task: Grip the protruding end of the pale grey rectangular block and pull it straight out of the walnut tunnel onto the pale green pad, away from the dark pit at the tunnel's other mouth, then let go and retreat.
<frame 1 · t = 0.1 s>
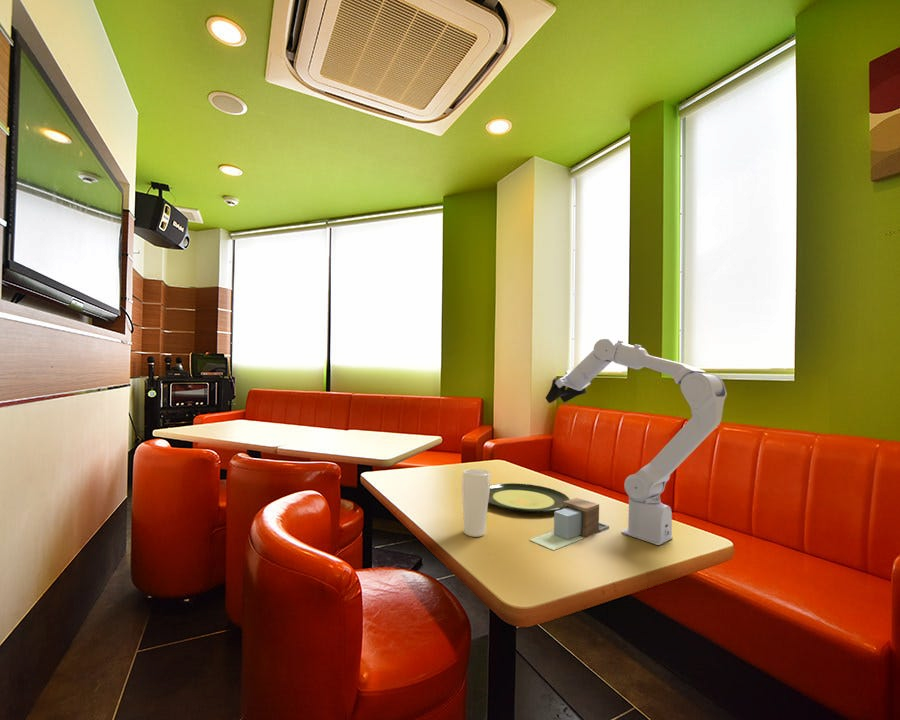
hand: (555, 400, 127), 32 cm above the table, tool tilted 50°, fingers open, 7 cm apart
pale grey rectangular block: (575, 520, 105), point 3 cm above the table, slide at 0.0 cm
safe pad: (556, 539, 100), on the table
drinking glass: (474, 534, 102), on the table
tunnel: (580, 530, 106), on the table
plate: (523, 503, 128), on the table
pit: (592, 526, 110), on the table
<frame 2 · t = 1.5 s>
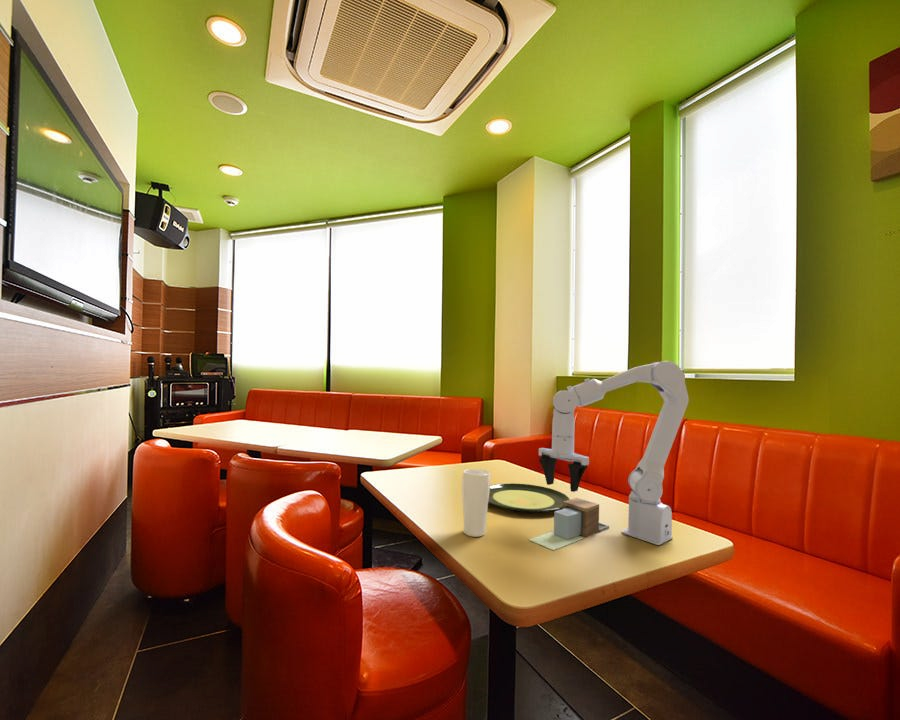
hand: (561, 487, 110), 10 cm above the table, tool pointing down, fingers open, 7 cm apart
nothing on the table moved.
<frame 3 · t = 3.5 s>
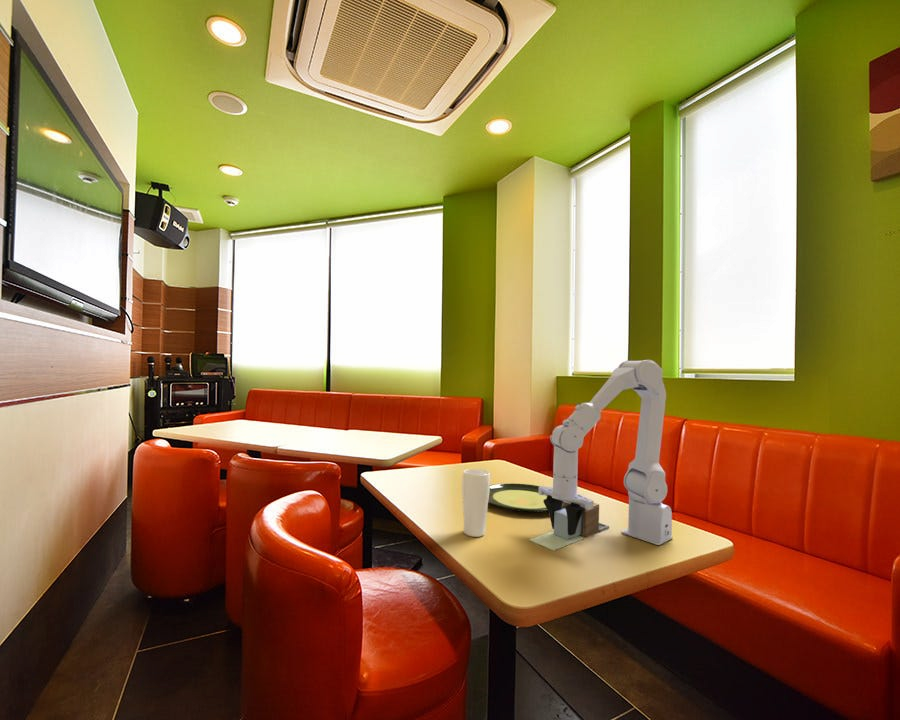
hand: (563, 531, 102), 1 cm above the table, tool pointing down, fingers closed on pale grey rectangular block, 4 cm apart
pale grey rectangular block: (575, 520, 105), point 3 cm above the table, slide at 0.0 cm, touching gripper
everything else where it was.
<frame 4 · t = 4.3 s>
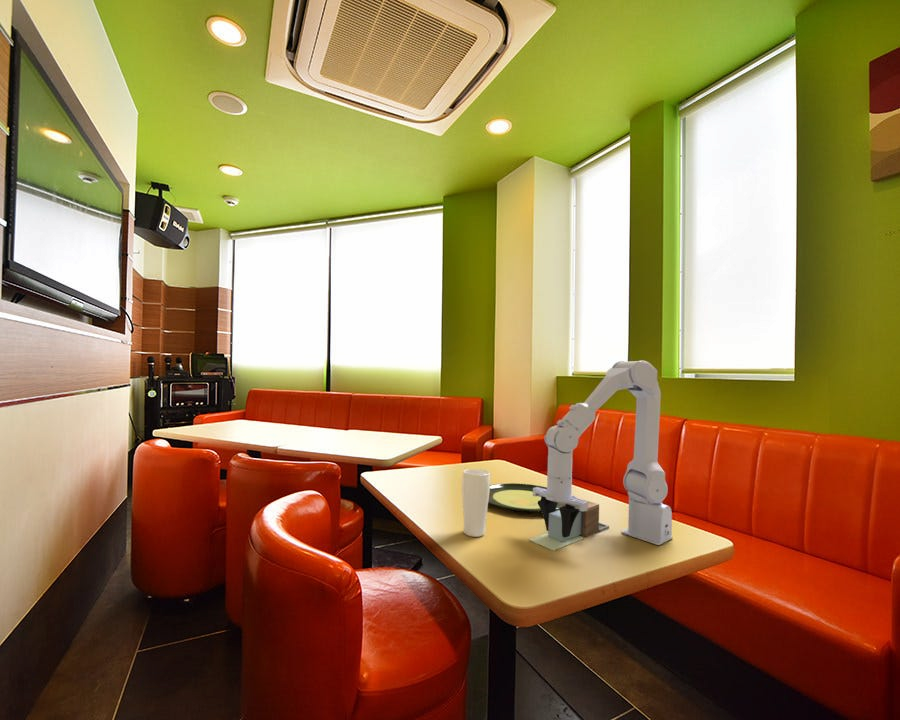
hand: (557, 533, 100), 1 cm above the table, tool pointing down, fingers closed on pale grey rectangular block, 4 cm apart
pale grey rectangular block: (569, 522, 103), point 3 cm above the table, slide at 2.2 cm, touching gripper
everything else where it was.
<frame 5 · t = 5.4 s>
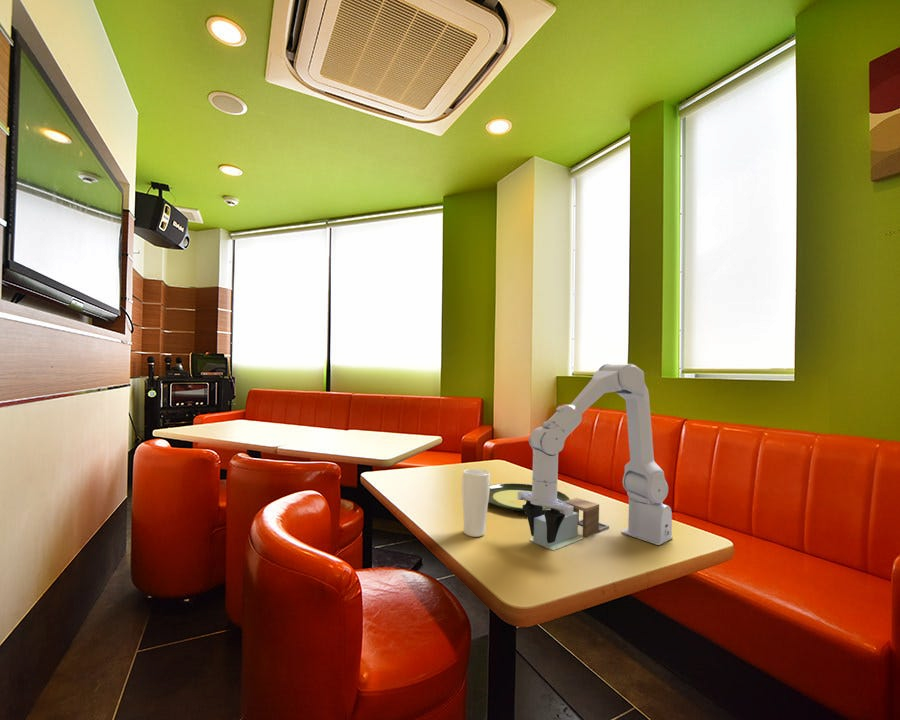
hand: (543, 538, 96), 1 cm above the table, tool pointing down, fingers closed on pale grey rectangular block, 4 cm apart
pale grey rectangular block: (556, 527, 100), point 3 cm above the table, slide at 7.9 cm, touching gripper
everything else where it was.
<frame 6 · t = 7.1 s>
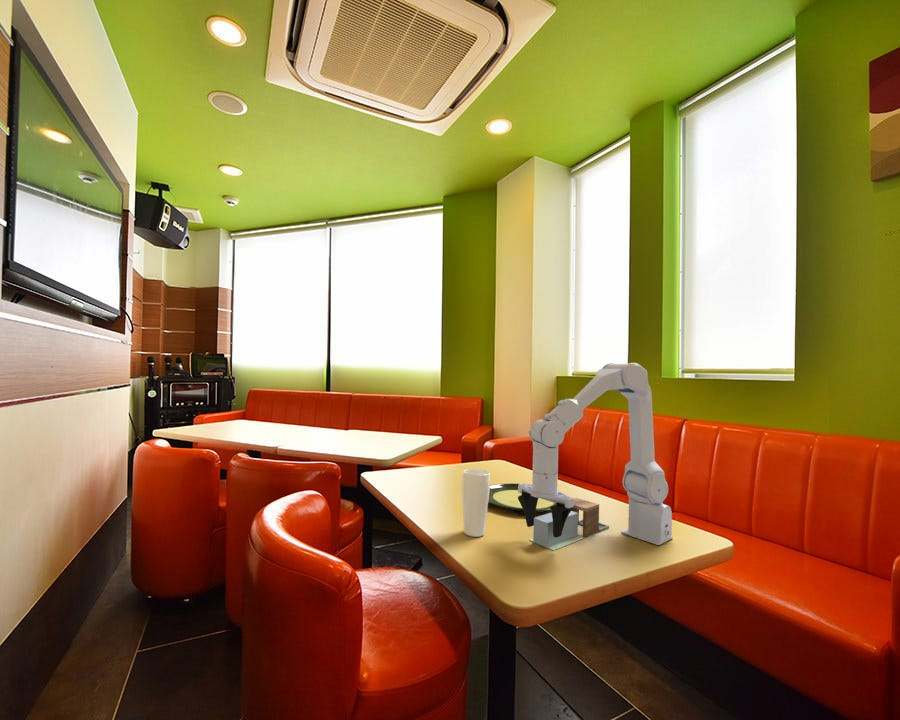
hand: (543, 530, 97), 3 cm above the table, tool pointing down, fingers open, 7 cm apart
pale grey rectangular block: (556, 527, 100), point 3 cm above the table, slide at 7.9 cm
everything else where it was.
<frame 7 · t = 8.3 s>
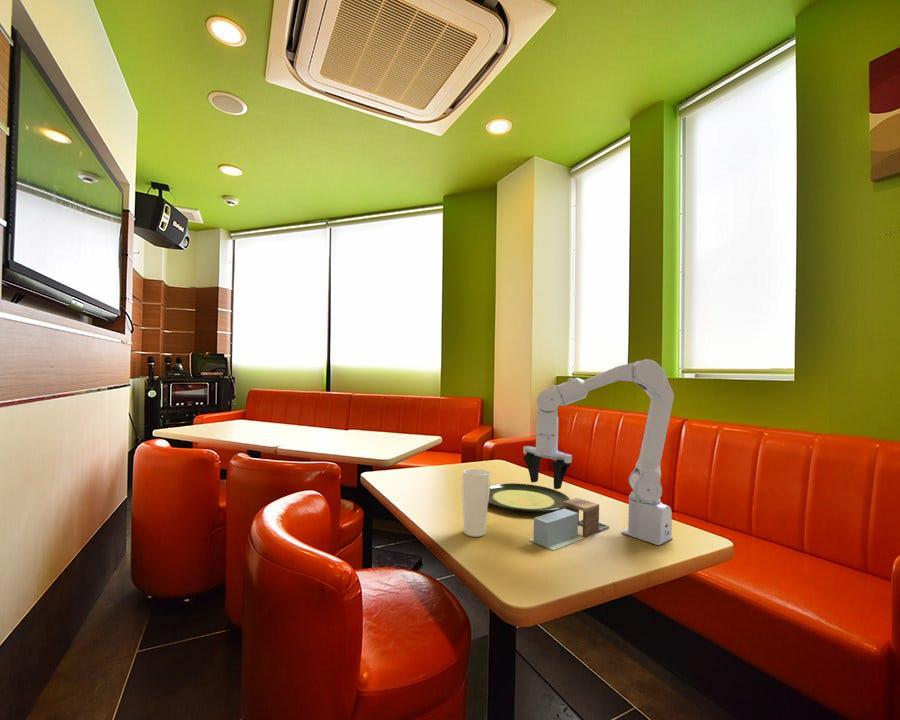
hand: (545, 485, 112), 10 cm above the table, tool pointing down, fingers open, 7 cm apart
nothing on the table moved.
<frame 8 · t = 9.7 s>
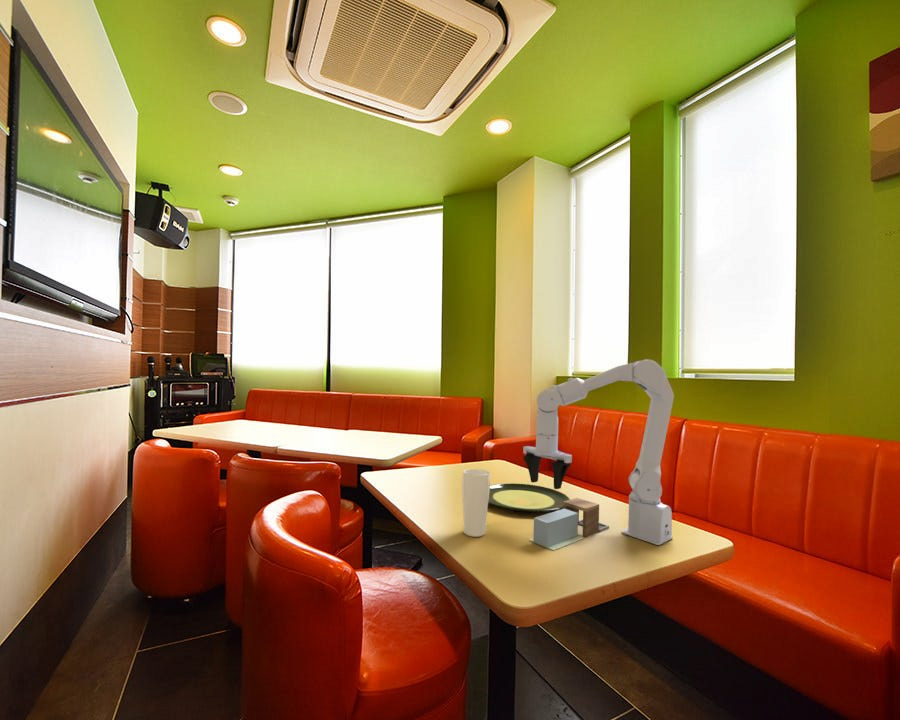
hand: (545, 485, 112), 10 cm above the table, tool pointing down, fingers open, 7 cm apart
nothing on the table moved.
at the end: pale grey rectangular block slide at 7.9 cm; the gripper is holding nothing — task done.
